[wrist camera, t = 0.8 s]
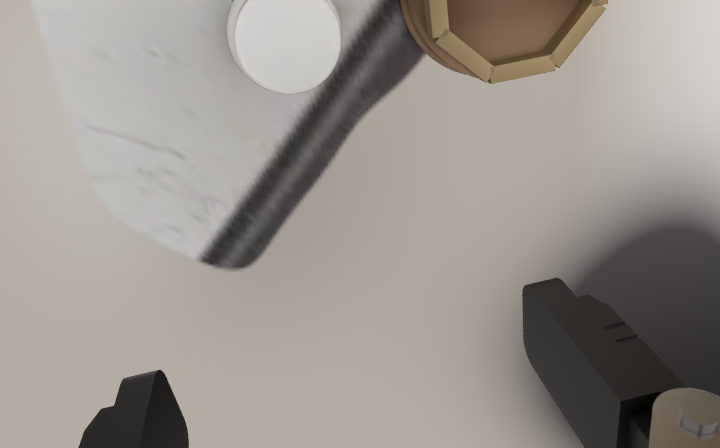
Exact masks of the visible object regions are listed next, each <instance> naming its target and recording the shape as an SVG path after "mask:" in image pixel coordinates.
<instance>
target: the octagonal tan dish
mask: <svg viewBox="0 0 720 448" xmlns="http://www.w3.org/2000/svg"><path fill="white" fill-rule="evenodd" d="M399 1H400V7H401V11H402V14H403V18H404V21H405V23H406V25H407V27H408V30H409V32H410V33H411V35H412V37H413V38H414V40H415V41H416V43H417V44H418V45H419V46H420V48H421V49H422V50H423V51H424V52H425V53H426V54H427V55H429V56H430V57H431V58H432V59H434V60H435V61H436V62H438V63H440V64H441V65H443V66H444V67H447V68H449V69H451V70H453V71H456V72H459V73H463V74H467V75H470V76H472V77H476V78H479V79H480V80H482V81H484V82H489V83H490V84H492V83H497V82H502V81H507V80H513V79H518V78H522V77H527V76H531V75H536V74H541V73H546V72H551V71H555V66H556V67H559V68H560V66H561V65H562V63H564V61H565V60H566V59H567V58H568V56H569V55H570V54H571V53H572V51H573V50H574V48H575V47H576V46H577V45H578V44H579V42H580V41H581V40H582V39H583V37H584V36H585V35H586V33H587V32H588V31H589V30H590V28H591V27H592V26H593V25H594V23H595V22H596V21H597V20H598V18H599V17H600V16H601V15H602V13H603V12H604V10H605V8H604V7H603V6H602V5H604V4H608V0H399Z"/></svg>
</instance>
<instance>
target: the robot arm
mask: <svg viewBox="0 0 720 448" xmlns="http://www.w3.org/2000/svg"><path fill="white" fill-rule="evenodd" d="M522 296H523V339H524V345H525V350H526V353H527V356H528V359H529V361H530V363H531V365H532V367H533V368H534V370H535V371H536V373H537V374H538V376H539V378H540V379H541V381H542V382H543V384H544V385H545V387H546V388H547V390H548V392H549V393H550V394H551V396H552V398H553V399H554V401H555V402H556V404H557V405H558V407H559V408H560V410H561V412H562V413H563V415H564V416H565V418H566V419H567V421H568V422H569V424H570V425H571V427H572V429H573V430H574V432H575V433H576V435H577V436H578V438H579V439H580V441H581V443H582V444H583V446H584V447H585V448H720V397H718V396H716V395H714V394H712V393H709V392H706V391H702V390H699V389H692V388H688V387H687V386H686V385H685V384H684V383H683V382H682V381H681V380H680V379H679V378H678V377H677V376H676V375H675V374H674V373H673V372H672V370H671V369H670V368H669V367H668V366H667V365H666V364H665V363H664V362H663V361H662V360H661V359H660V358H659V357H658V356H657V355H656V354H655V353H654V352H653V351H652V350H651V349H650V348H649V347H648V345H647V344H645V342H644V341H643V340H642V339H640V338H638V337H637V334H636V333H635V332H634V331H633V330H632V329H631V328H630V327H629V326H628V325H625V322H624V321H623V319H621V318H620V316H619V315H618V314H617V313H616V312H615V311H614V310H613V309H612V308H611V307H610V306H609V305H607V304H604V303H603V302H601V301H599V300H597V299H595V298H593V297H591V296H590V295H583V296H579V297H576V296H575V295H574V293H573V292H572V291H571V290H570V289H569V288H568V287H567V285H565V283H564V282H563V281H562V280H561V279H559V278H554V279H549V280H545V281H541V282H537V283H532V284H529V285H525V286H524V288H523V294H522ZM79 448H189V439H188V431H187V426H186V422H185V420H184V417H183V415H182V412H181V410H180V408H179V405H178V403H177V401H176V399H175V396H174V394H173V392H172V389H171V387H170V385H169V383H168V380H167V378H166V376H165V374H164V373H163V371H161V370H157V371H152V372H148V373H144V374H140V375H135V376H131V377H127V378H124V379H123V380H122V382H121V384H120V388H119V391H118V394H117V398H116V401H115V404H114V406H112V407H108V408H103V409H101V410H100V411H99V412H98V414H97V415H96V416H95V418H94V419H93V420H92V422H91V423H90V424H89V425H88V427H87V428H86V429H85V431H84V433H83V437H82V440H81V442H80V445H79Z"/></svg>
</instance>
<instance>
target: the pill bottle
mask: <svg viewBox="0 0 720 448" xmlns="http://www.w3.org/2000/svg"><path fill="white" fill-rule="evenodd" d="M226 31H227V40H228V45H229V48H230V51H231V54H232V56H233V58H234V60H235V62H236V63H237V65H238V66H239V68H240V69H241V70H242V71H243V73H244V74H245V75H247V76H248V77H249V78H250V79H251V80H252V81H254V82H255V83H257V84H259V85H260V86H262V87H264V88H266V89H268V90H270V91H274V92H277V93H282V94H297V93H302V92H306V91H308V90H311V89H313V88H315V87H316V86H318V85H319V84H321V83H322V82H323V81H324V80H325V79H326V78H327V77H328V76H329V75H330V73H331V72H332V70H333V69H334V67H335V65H336V63H337V61H338V58H339V54H340V50H341V22H340V18H339V15H338V11H337V9H336V7H335V5H334V3H333V1H332V0H233V2H232V4H231V6H230V9H229V13H228V17H227V26H226Z"/></svg>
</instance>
